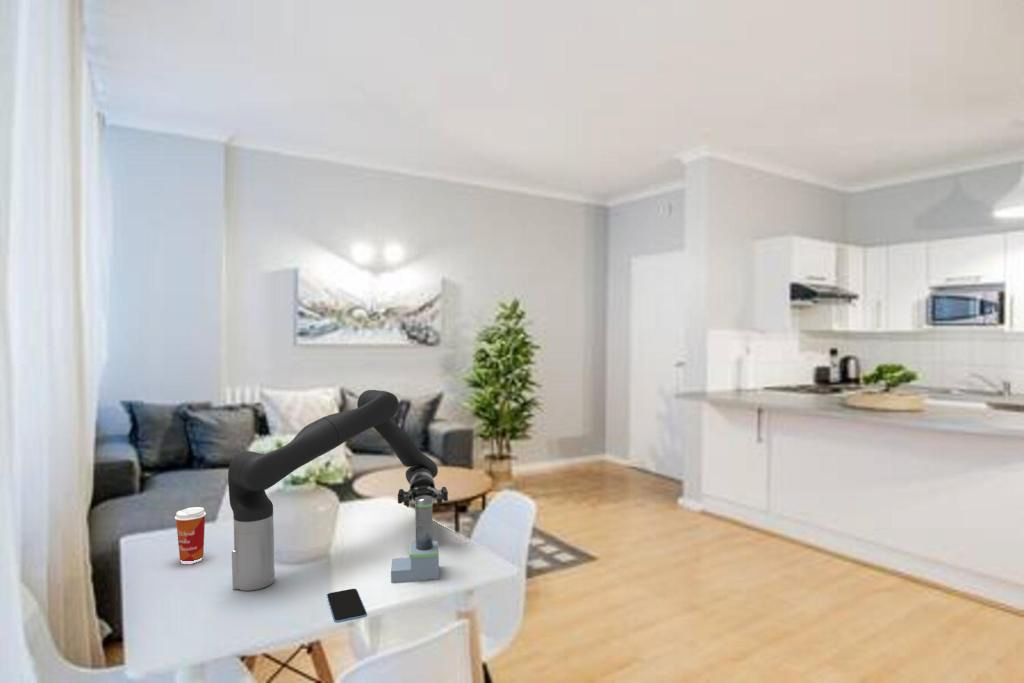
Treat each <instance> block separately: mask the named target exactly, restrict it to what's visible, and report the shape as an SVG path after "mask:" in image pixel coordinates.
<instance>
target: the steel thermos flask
mask: <svg viewBox="0 0 1024 683" xmlns="http://www.w3.org/2000/svg"><path fill="white" fill-rule="evenodd" d="M433 503H434V502H433V501H432V497H431V496H426V495H424V496H418V497H416V498H415V502H414V507H415V508H414V509H415V512H414V513H415V515H414V516H415V542H416V549H418V550H429V549H431V548H432V547H433V541H434V531H433V530H434V529H433V520H434V519H433V518H434V517H433V505H434V504H433Z"/></svg>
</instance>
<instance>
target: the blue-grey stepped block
mask: <svg viewBox="0 0 1024 683" xmlns="http://www.w3.org/2000/svg"><path fill="white" fill-rule="evenodd" d="M438 545H439V543H438V540H433V547H432V548H431V549H429V550H418V549H416V541H413V542H409V553H408V554H409V557H397V558H391V566H390V567H391V568H390V583H393V584H394V583H407V582H418V581H417V580H421V581H428V580H427V579H434V580H439V579H440V569H439V567H440V566H439V565H440V562H439V560H440V558H439V556H440V555H439V554H440V553H439V552H440V551H439V546H438Z"/></svg>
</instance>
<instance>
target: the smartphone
mask: <svg viewBox="0 0 1024 683" xmlns="http://www.w3.org/2000/svg"><path fill="white" fill-rule="evenodd" d="M327 596H328V597H327ZM327 598H328V600H327V603H328V602H329V603H328V606H330V607H329V610H330V614H331V617H333V618H332V620H333V622H334V623H337V624H338V623H343V622H344V623H345V622H348V621H352V620H358V619H362V618H365V617H367V616H368V612H367V610H366V607H365V605H364V603H363V601H362V599H361V596H360V594H359V592H358V589H357V588H350V589H345V590H339V591H333V592H328V593H327V594H326V599H327Z"/></svg>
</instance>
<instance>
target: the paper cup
mask: <svg viewBox="0 0 1024 683" xmlns="http://www.w3.org/2000/svg"><path fill="white" fill-rule="evenodd" d="M175 514H176V515H175V516H174V519H175V521H176V522H175V523H176V532H177V543H178V544H177V545H178V553H179V554H178V555H179V561H180V560H182V561H194V560H198V559H200V558H202V557H203V558H204V553H205V552H204V550H205V548H204V546H205V522H206V521H205V520H206V515H207V512H206V511H205V508H204V507H199V506H198V507H196V506H195V507H187V508H185V509H180V510H178V511H177V512H176V513H175Z"/></svg>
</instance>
